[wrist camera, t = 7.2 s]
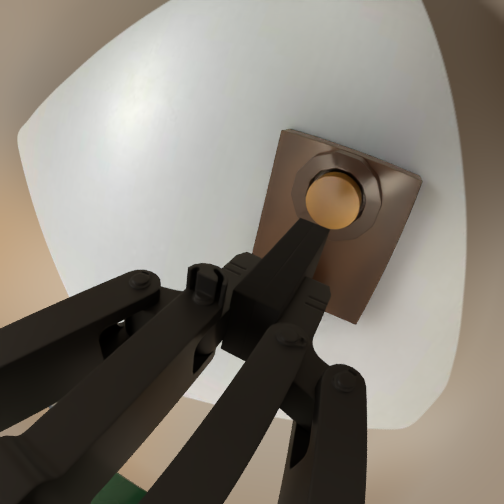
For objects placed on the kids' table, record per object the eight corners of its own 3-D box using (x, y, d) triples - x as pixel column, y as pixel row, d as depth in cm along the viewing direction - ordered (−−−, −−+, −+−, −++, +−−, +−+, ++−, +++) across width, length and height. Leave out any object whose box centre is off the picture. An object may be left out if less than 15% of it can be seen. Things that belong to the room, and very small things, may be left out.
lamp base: (420, 176, 22) (424, 186, 19) (359, 312, 30) (352, 336, 27) (289, 128, 26) (273, 131, 22) (255, 267, 33) (238, 286, 30)
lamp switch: (368, 182, 21) (367, 188, 20) (352, 229, 23) (349, 237, 22) (319, 164, 22) (313, 168, 21) (305, 210, 24) (299, 217, 23)
